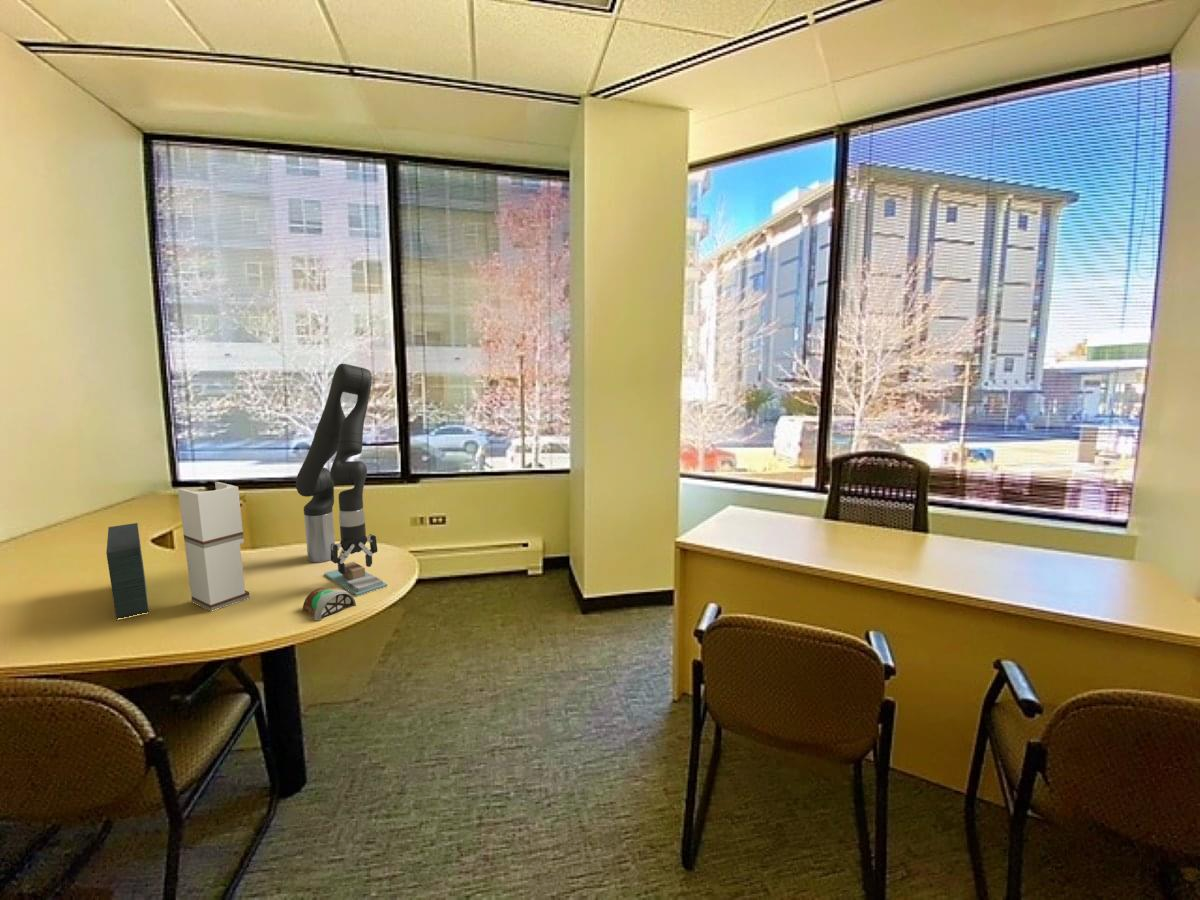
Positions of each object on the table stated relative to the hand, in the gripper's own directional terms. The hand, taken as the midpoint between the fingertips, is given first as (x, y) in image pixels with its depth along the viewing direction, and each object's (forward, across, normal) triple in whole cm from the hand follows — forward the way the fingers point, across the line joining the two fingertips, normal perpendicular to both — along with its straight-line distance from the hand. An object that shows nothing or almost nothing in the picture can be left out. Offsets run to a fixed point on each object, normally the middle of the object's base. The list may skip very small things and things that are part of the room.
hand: (355, 569), depth 181 cm
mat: (+4, 0, -1) cm, 4 cm away
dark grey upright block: (+4, +52, -36) cm, 63 cm away
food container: (+1, +15, +8) cm, 17 cm away
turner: (+3, 0, +2) cm, 4 cm away
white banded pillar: (+4, +34, -16) cm, 38 cm away
